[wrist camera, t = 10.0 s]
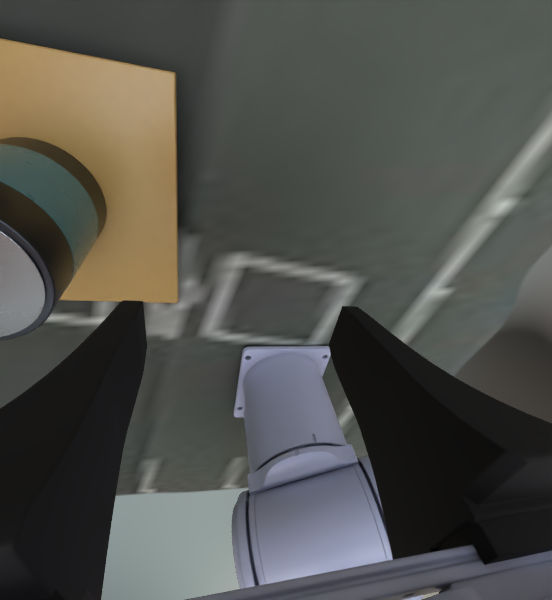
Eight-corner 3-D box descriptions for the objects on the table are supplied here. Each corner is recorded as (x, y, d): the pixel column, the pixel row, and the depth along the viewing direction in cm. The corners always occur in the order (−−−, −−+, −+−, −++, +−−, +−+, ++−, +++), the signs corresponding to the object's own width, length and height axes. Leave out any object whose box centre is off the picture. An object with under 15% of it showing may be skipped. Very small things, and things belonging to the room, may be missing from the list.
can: (113, 253, 17) (70, 344, 12) (-4, 246, 16) (-117, 345, 10) (98, 146, 14) (29, 199, 9) (-49, 126, 13) (-244, 174, 7)
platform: (180, 282, 22) (177, 303, 20) (-28, 273, 19) (-55, 297, 17) (178, 71, 15) (174, 72, 13) (-145, 8, 12) (-213, -3, 10)
